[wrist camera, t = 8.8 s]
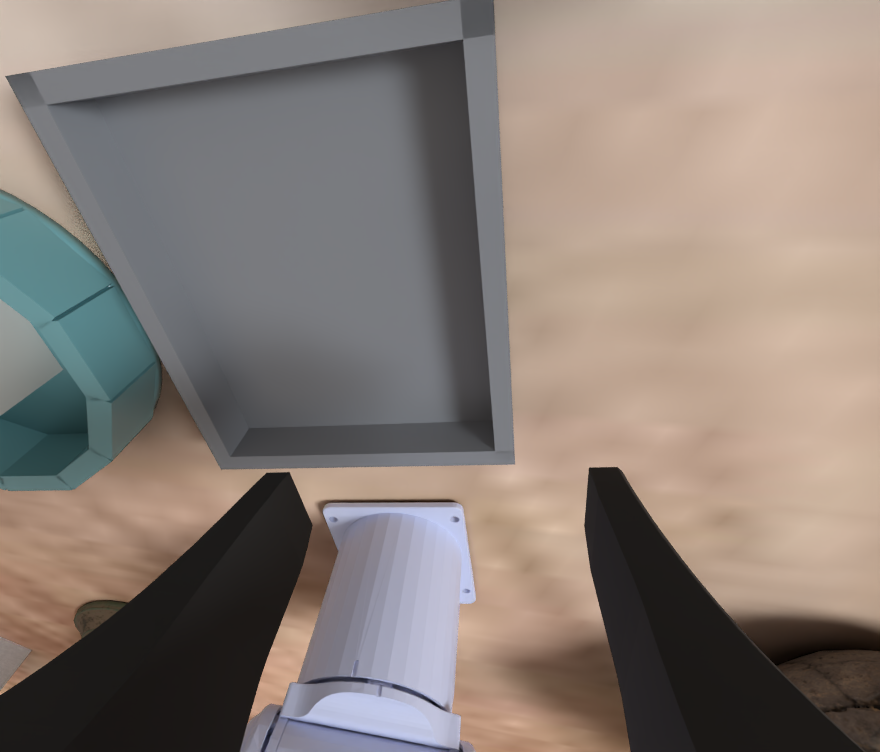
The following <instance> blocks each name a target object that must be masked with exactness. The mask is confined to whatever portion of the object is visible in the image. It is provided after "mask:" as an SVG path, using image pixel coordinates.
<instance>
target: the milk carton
mask: <svg viewBox="0 0 880 752" xmlns="http://www.w3.org/2000/svg"><path fill="white" fill-rule="evenodd" d="M31 651H32V650H30V649H28V648H26V647H23V646H21V645H19V644H16V643H14V642H12V641H9V640H7V639H5V638H3V637H0V690H1V689H2V688H3V687H4V685H5V684H6V683H7V681H8V680H9V679H10V678H11V676H12V675H13V674H14V672H15V671H16V670H17V669H18V667H19V666H20V665H21V663H22V662H23V661H24V660H25V658H26V657H27V656H28V654H29V653H30V652H31Z"/></svg>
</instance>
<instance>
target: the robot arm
mask: <svg viewBox="0 0 880 752" xmlns="http://www.w3.org/2000/svg"><path fill="white" fill-rule="evenodd" d="M323 515H324V517H325V520H326V522H327V525H328V527H329V530H330V532H331V535H332V537H333V539H334V542H335V544H336V547H337V549H338V554H337V558H336V561H335V564H334V567H333V570H332V574H331V577H330V580H329V583H328V586H327V589H326V593H325V596H324V599H323V602H322V605H321V608H320V612H319V615H318V618H317V621H316V624H315V627H314V631H313V634H312V637H311V640H310V643H309V646H308V650H307V653H306V656H305V659H304V662H303V666H302V669H301V672H300V675H299V678H298V681H297V683H295V682H291V683H290V685H289V688H288V691H287V694H286V697H285V700H284V703H283V706H281V705H275V704H269V705H267V706H266V707H265V708H264V709H263V710H262V712H260V713H259V714H258V715H256V716H255V717H254V718H252V719H251V720H250V721H249V722H248V719H249V716H250V712H251V709H252V705H253V702H254V698H255V695H256V691H257V688H258V684H259V681H260V677H261V675H262V672H263V669H264V666H265V663H266V660H267V657H268V655H269V652H270V649H271V647H272V644H273V642H274V639H275V636H276V634H277V631H278V629H279V626H280V624H281V621H282V618H283V616H284V613H285V611H286V608H287V606H288V603H289V600H290V598H291V595H292V592H293V590H294V587H295V585H296V582H297V579H298V577H299V574H300V571H301V568H302V566H303V562H304V558H305V554H306V551H307V547H308V543H309V538H310V534H311V530H312V523H311V521H310V518H309V516H308V514H307V511H306V509H305V507H304V505H303V502H302V500H301V498H300V495H299V493H298V491H297V488H296V486H295V484H294V482H293V479H292V477H291V475H290V472H283V473H266V474H265V475H264V476H263V477H262V478H261V479H260V480H259V481H258V482H257V483H256V484H255V485H254V486H253V487H252V488H251V489H250V490H249V491H248V492H247V493H246V494H245V495H244V496H243V497H242V498H241V499H240V500H239V501H238V502H237V503H236V504H235V505H234V506H233V507H232V508H231V509H230V510H229V511H228V512H227V513H226V514H225V515H224V516H223V517H222V518H221V519H220V520H219V521H218V522H217V523H216V524H214V525H213V526H212V527H211V528H210V529H209V530H208V531H207V532H206V533H205V534H204V535H203V536H202V537H201V538H200V539H199V540H198V541H197V542H196V543H195V544H194V545H193V546H192V547H191V548H190V549H189V550H187V551H186V552H185V553H184V554H183V555H182V556H181V557H180V558H179V559H178V560H177V561H175V562H174V563H173V564H172V565H171V566H170V567H169V568H168V569H167V570H166V571H165V572H163V573H162V574H161V575H160V576H159V577H158V578H157V579H156V580H155V581H154V582H152V583H151V584H150V585H149V586H148V587H147V588H145V589H144V590H143V591H142V592H141V593H139V594H138V595H137V596H136V597H135V598H134V599H132V600H131V601H130V602H129V603H127V604H126V605H125V606H124V607H122V608H121V609H120V610H119V611H117V612H116V613H115V614H114V615H112V616H111V617H110V618H109V619H107V620H106V621H105V622H104V623H102V624H101V625H100V626H98V627H97V628H96V629H94V630H93V631H92V632H90V633H89V634H88V635H86V636H85V637H83V638H82V639H81V640H79V641H78V642H77V643H75V644H74V645H72V646H71V647H70V648H68V649H67V650H66V651H64V652H63V653H61V654H60V655H59V656H57V657H56V658H55V659H53V660H52V661H51V662H49V663H48V664H46V665H45V666H43V667H42V668H41V669H39V670H38V671H36V672H35V673H33V674H32V675H30V676H29V677H27V678H26V679H24V680H23V681H21V682H20V683H18V684H17V685H15V686H14V687H12V688H11V689H9V690H8V691H6V692H5V693H3V694H2V695H0V752H476V751H475V749H474V747H473V745H472V744H470V743H469V742H466V741H461V740H460V725H461V716H460V715H458V714H454V713H452V703H453V698H454V687H455V671H456V656H457V640H458V625H459V609H460V603H465V604H470V603H473V602H475V600H476V593H475V586H474V579H473V572H472V566H471V559H470V552H469V545H468V538H467V531H466V524H465V517H464V510H463V507H462V506H461V505H460V504H458V503H455V502H415V503H327V504H326V505H325V506H324V508H323ZM584 526H585V534H586V541H587V548H588V555H589V562H590V569H591V573H592V577H593V581H594V586H595V590H596V594H597V598H598V602H599V606H600V610H601V614H602V617H603V621H604V625H605V629H606V633H607V637H608V641H609V645H610V649H611V653H612V657H613V661H614V665H615V669H616V673H617V677H618V682H619V687H620V691H621V696H622V701H623V707H624V713H625V719H626V726H627V732H628V738H629V744H630V750H631V752H866V751H864V750H863V749H862V748H861V747H860V746H859V745H858V744H857V743H856V742H854V741H853V740H852V739H851V738H850V737H849V736H848V735H847V734H846V733H845V732H844V731H843V730H842V729H841V728H840V727H839V726H838V725H837V724H835V723H834V722H833V721H832V720H831V719H830V718H829V717H828V716H827V715H826V714H825V713H824V712H823V711H822V710H821V709H820V708H819V707H818V706H817V705H816V704H814V703H813V702H812V701H811V700H810V699H809V698H808V697H807V696H806V695H805V694H804V693H803V692H802V691H801V690H800V689H799V688H798V687H797V686H796V685H794V684H793V683H792V682H791V681H790V680H789V679H788V678H787V677H786V676H785V675H784V674H783V673H782V672H781V670H780V669H779V668H778V667H777V666H776V665H775V664H774V663H773V662H772V661H771V660H770V659H769V658H768V657H767V656H766V655H765V654H764V653H763V652H762V651H761V650H760V649H759V648H758V647H757V646H756V645H755V644H754V642H753V641H752V640H751V639H750V638H749V637H748V636H747V635H746V634H745V633H744V632H743V631H742V630H741V628H740V627H739V626H738V625H737V624H736V623H735V622H734V621H733V620H732V619H731V617H730V616H729V615H728V614H727V613H726V612H725V611H724V609H723V608H722V607H721V606H720V605H719V604H718V603H717V601H716V600H715V599H714V598H713V597H712V595H711V594H710V593H709V592H708V591H707V589H706V588H705V587H704V586H703V585H702V583H701V582H700V581H699V580H698V579H697V577H696V576H695V575H694V574H693V572H692V571H691V570H690V569H689V567H688V566H687V565H686V564H685V562H684V561H683V560H682V558H681V557H680V556H679V554H678V553H677V552H676V550H675V549H674V548H673V546H672V545H671V544H670V542H669V541H668V540H667V538H666V537H665V536H664V534H663V533H662V532H661V530H660V529H659V528H658V526H657V525H656V523H655V522H654V520H653V519H652V518H651V516H650V515H649V513H648V512H647V510H646V509H645V507H644V506H643V504H642V503H641V501H640V500H639V498H638V497H637V495H636V494H635V492H634V490H633V489H632V487H631V485H630V484H629V482H628V481H627V479H626V477H625V475H624V474H623V472H622V471H621V470H620V469H619V468H618V467H600V468H589V475H588V488H587V500H586V513H585V525H584ZM247 723H248V724H247Z"/></svg>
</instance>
